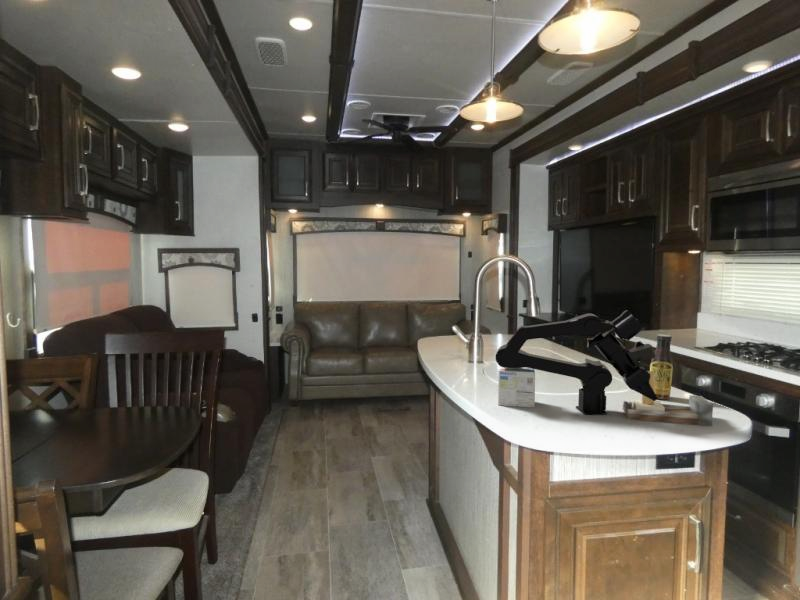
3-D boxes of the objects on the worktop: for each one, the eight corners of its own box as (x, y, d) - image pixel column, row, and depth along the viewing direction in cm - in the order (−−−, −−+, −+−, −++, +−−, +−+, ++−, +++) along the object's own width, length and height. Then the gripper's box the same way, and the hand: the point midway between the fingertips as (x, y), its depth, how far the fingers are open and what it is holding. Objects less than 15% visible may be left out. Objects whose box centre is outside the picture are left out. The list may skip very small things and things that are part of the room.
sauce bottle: (647, 398, 152) (650, 335, 150) (648, 393, 157) (650, 332, 156) (671, 401, 149) (674, 337, 147) (671, 396, 154) (674, 334, 153)
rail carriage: (636, 411, 133) (637, 373, 132) (631, 405, 139) (633, 369, 138) (664, 414, 131) (666, 375, 130) (659, 407, 137) (660, 370, 136)
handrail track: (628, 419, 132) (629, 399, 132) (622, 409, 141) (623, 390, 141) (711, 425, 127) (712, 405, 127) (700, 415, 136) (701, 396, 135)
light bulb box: (533, 401, 149) (534, 367, 148) (535, 408, 142) (536, 372, 141) (498, 399, 151) (498, 365, 150) (497, 405, 145) (498, 370, 144)
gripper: (645, 338, 125) (688, 386, 123) (631, 328, 143) (668, 370, 141) (609, 364, 128) (650, 411, 126) (600, 351, 146) (636, 393, 144)
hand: (652, 395), depth 134 cm, fingers open, 9 cm apart
